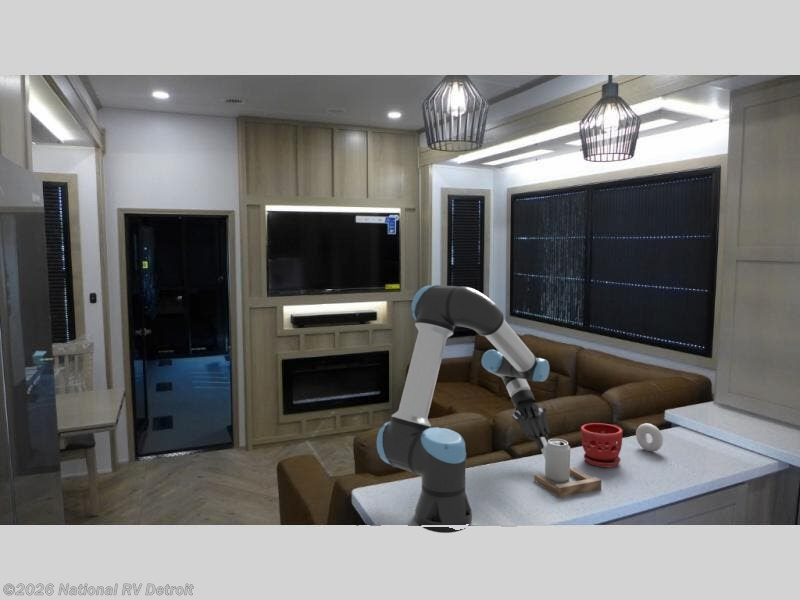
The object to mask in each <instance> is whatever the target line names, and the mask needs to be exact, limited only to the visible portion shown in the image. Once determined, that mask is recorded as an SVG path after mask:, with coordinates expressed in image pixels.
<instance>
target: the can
mask: <svg viewBox="0 0 800 600" xmlns="http://www.w3.org/2000/svg"><path fill="white" fill-rule="evenodd" d="M544 460H545V462H544V477H546V478H547V479H549V480H550V481H552V482H553V483H566V482H568V481H567V480H569V479H570V478H571V475H570V468H571V446H570V445H569V442H568V441H567V440H565V439H562V438H550V439H548V443H547V444H546V449H545V458H544Z"/></svg>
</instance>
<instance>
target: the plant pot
mask: <svg viewBox="0 0 800 600" xmlns="http://www.w3.org/2000/svg"><path fill="white" fill-rule="evenodd" d="M602 432H604V433H602ZM580 438H581V444H582V449H583V451H584V454H583V459H584V460H585V461H586V462H587V463H589V464H590V465H591V466H595V467H599V468H600V467H601V468H611V467H616V466H617V465H619V464H620V462H621V460H622V459H621V457H620V456H619V455H620V453H621V450H622V445H623V429H621V428H620V427H619V426H617V425H614V424H608V423H600V422H597V423H596V422H595V423H593V422H591V423H586V424H583V425H582V426H581V427H580Z"/></svg>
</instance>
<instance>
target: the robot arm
mask: <svg viewBox="0 0 800 600" xmlns="http://www.w3.org/2000/svg"><path fill="white" fill-rule="evenodd" d="M411 311H412V312H411V314H412V317H413V319H414V321H415V324H414V325H415V327H416V329H417V331H418V333H417V336H416V340H415V344H414V348H413V351H412V356H411V360H410V364H409V368H408V371H407V376H406V380H405V384H404V387H403V391H402V395H401V398H400V399H401V400H400V402H399V408H398V410H397V411H396V412H394V413H393V414H391V417H390V421H388V422H384V424H383V425H382V427H380V429H379V432H378V433H377V437H376V449H377V453H378V455H379V457H380V459H381V460H382V461H383V462H384V463H386V464H388V465H391V467H393V468H397V469H398V468H399V469H401V470H405V471H407V472H410V473H412V474H415V475H418V476H420V477H421V492H420V494H419V497H418V501H417V504H416V506H415V522H416V523H417V525H419V526H420V525H466V524H470V523H471V524H472V522H471V521H472V520H473V518H472V517H473V514H472V513H473V512H472V508H471V506H470V505H471V504H470V502H469V498H468V496H467V493H466V469H467V468H466V461H467V460H466V459H467V452H466V442H465V440H464V438H463V436H462V435H461V434H460V433H458V432H456V431H454V430H453V429H449V428H446V427H443V428H441V427H431V426H432V424H431V423H430V422H429V419H428V416H429V413H430V408H431V405H432V401H433V396H434V393H435V392H434V391H435V387H436V384H437V380H438V377H439V376H438V375H439V371H440V367H441V364H442V360H443V359H442V358H443V356H444V351H445V347H446V343H447V339H448V338H449V337H452V336H453V335H454V332H455V328H456V327H463V328H468V329H471V330H473V331H475V332H476V333H477V334H478V335H480V336H482V337H485V338H486V339H487V341H489V342H490V343H491V344H492V346H494V348H496V350H495V349H488V350H487V351H485V352H484V353H483V355H482V357H481V365H482V367H483V368H484V369H485V370H486V371H487V372H488V373H491V374H494V375H495V376H498V377H500V378H501V379H502V381H503V383H504V385H505V388H506V390H507V393H508V394H509V397H510V400H511V403H512V404H513V406H514V408H515V412H514V413H513V414H512V415H511V418H512V419H514V421H516V423H517V424H518V426H519V427H520V428H521V430H522V431H523V433H524V435H525V436H526V437H527V438H528V440H530V441H531V440H532V442H533V443H535V444H536V446H537V448H538V449H539V450H541V453H542V455H543V457H544V459H545V449H546V444H547V443H548V440H549V439H548V437H549V435H550V434H551V430H550V426H549V421H548V418H547V409H546V408H545V407H543V408H541V407H539V405H538V403H536V398H535V396H534V393H533V391H532V390H531V387H530V385H529V382H528V381H532V382H540V383H541V382H544V381H546V380H547V379H548V377H549V374H550V364H549V363H550V362H549V361H548V360H547V359H544V358H541V357H536V355H534V353H533V352H532V351H531V350H530V349H529V347H527V345H526V344H525V343H524V342H523V340H522V339H521V338H520V337H519V336H518V334H517V333H516V332H515V331H514V329H513V328H512V327H511V326H510V325H509V324H508V322H507V321H506V320H505V314H504V313H503V311H502V309H501V308H500V306H498V305H497V304H496V303H495V302H494V301H493V300H492V299H490V298H489V297H488V296H487V295H485V294H484V293H482V292H480V291H479V290H476V289H475V288H472V287H469V286H455V285H454V286H453V285H439V284H434V285H425V286H423V287H421V289H419V290H418V291H417V292H416V294H415V295H414V297H413V299H412V302H411ZM471 524H470V525H471ZM422 529H425V530H427V531H431V532H434V533H441V534H446V533H447V534H448V533H449V534H451V533H456V532H460V531H464V530H465V529H466V528H464V529H460V530H455V529H453V528H449V527H422Z"/></svg>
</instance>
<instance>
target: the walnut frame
mask: <svg viewBox="0 0 800 600" xmlns="http://www.w3.org/2000/svg"><path fill="white" fill-rule="evenodd" d="M570 477H572V478H574V479H576V481H572V482H571V481H570V482H567V483H566V482H563V483H559V484H557V483H556V482H553V481H551V480H549V479H548V478H547V477H546V476H545V475H543V474H542V473H536V474H534V475H533V478H534V479H533V480H535V481H534V482H536V481H537V482H538V483H539V485H540V486H541V485H542V487H543V488H544V487H545V488H544V489H545V490H547V491H549V492H550V493H551V494H553V495H554V496H556V497H557V498H559V499H561V498H566V497H571V496H576V495H580V494H586V493H591V492H596V491H601V490H602V480H601V479H600V478H598V477H591V476H590V475H588V474H587V473H584V472H583V471H581V470H579V469H577V468H576V467H570ZM537 482H536V483H537ZM538 483H537V484H538Z"/></svg>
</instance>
